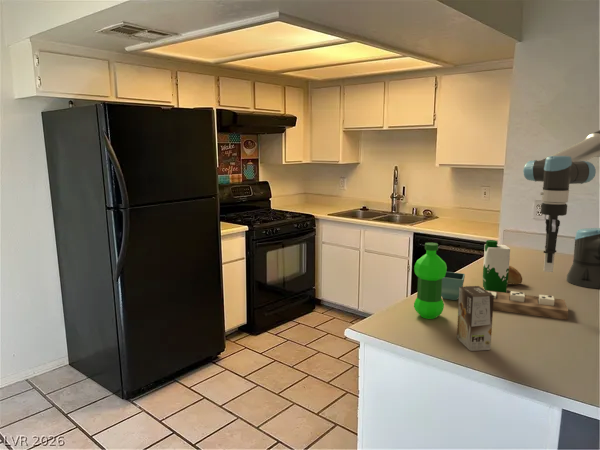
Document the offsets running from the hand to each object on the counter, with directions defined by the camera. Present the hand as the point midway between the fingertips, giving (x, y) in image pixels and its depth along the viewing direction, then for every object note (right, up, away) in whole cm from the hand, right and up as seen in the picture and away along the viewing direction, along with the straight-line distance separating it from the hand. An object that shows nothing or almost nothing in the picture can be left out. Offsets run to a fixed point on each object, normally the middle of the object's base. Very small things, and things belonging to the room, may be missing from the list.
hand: (548, 271), depth 149 cm
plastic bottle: (-41, -15, -1) cm, 44 cm away
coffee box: (-35, -19, -22) cm, 45 cm away
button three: (-8, -12, +6) cm, 15 cm away
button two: (0, -13, +2) cm, 13 cm away
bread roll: (0, -9, +35) cm, 36 cm away
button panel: (-8, -13, +6) cm, 17 cm away
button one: (-16, -12, +10) cm, 23 cm away
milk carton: (-7, -10, +25) cm, 28 cm away
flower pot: (-28, -12, +17) cm, 34 cm away
